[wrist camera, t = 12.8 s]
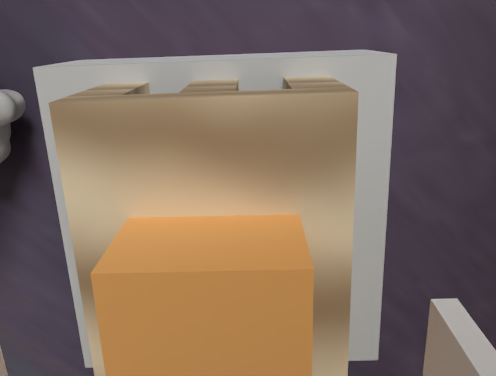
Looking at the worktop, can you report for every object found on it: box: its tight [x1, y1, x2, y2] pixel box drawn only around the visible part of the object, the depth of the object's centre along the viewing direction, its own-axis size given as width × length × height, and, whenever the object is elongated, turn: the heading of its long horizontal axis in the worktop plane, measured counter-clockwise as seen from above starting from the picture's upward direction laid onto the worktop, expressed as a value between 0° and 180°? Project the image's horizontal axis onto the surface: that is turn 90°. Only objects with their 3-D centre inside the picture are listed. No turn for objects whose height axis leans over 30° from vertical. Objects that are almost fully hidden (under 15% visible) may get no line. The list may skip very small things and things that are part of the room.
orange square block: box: [90, 214, 314, 376], centre depth 15 cm, size 6×6×4 cm
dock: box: [33, 50, 397, 367], centre depth 26 cm, size 16×16×6 cm
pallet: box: [49, 76, 359, 376], centre depth 20 cm, size 14×10×6 cm
